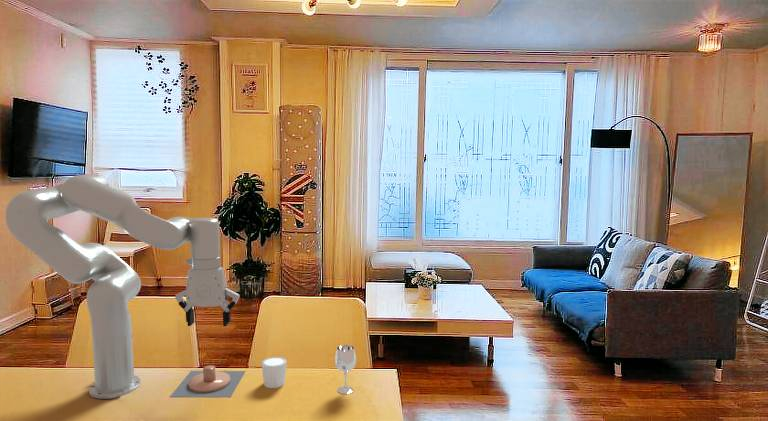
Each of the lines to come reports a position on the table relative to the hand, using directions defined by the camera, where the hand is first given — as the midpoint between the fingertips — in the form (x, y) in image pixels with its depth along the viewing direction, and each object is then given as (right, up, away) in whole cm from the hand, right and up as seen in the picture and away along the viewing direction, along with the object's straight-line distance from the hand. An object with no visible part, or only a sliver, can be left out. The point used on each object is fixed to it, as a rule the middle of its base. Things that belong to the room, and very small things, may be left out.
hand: (208, 324), depth 143 cm
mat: (0, -17, +2) cm, 18 cm away
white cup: (+18, -18, +3) cm, 25 cm away
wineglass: (+38, -18, 0) cm, 42 cm away
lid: (0, -17, +2) cm, 17 cm away
